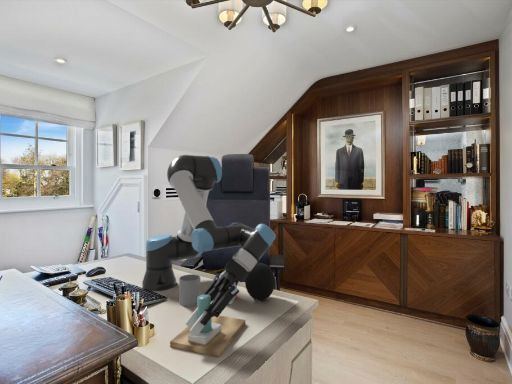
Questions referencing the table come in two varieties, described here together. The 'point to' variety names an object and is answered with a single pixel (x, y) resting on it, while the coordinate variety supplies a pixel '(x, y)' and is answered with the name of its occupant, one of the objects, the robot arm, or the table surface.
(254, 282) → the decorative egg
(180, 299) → the cup
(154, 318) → the table surface
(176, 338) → the board
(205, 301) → the teal cylinder on base
